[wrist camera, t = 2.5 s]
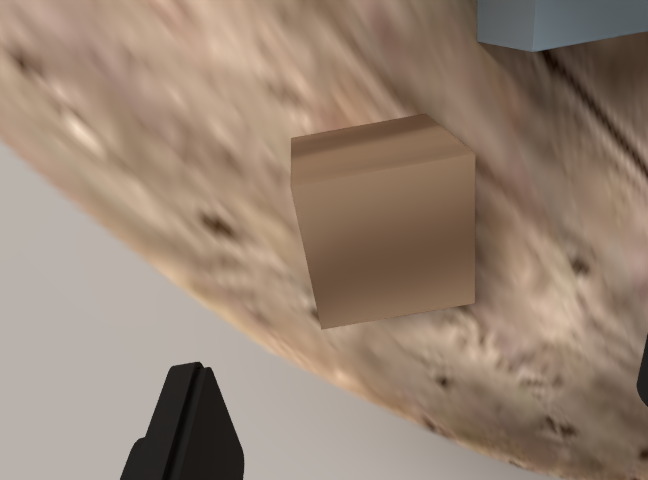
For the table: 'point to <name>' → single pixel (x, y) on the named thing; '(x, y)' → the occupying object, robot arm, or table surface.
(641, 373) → the robot arm
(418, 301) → the walnut block
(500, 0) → the slate block
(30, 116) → the table surface
